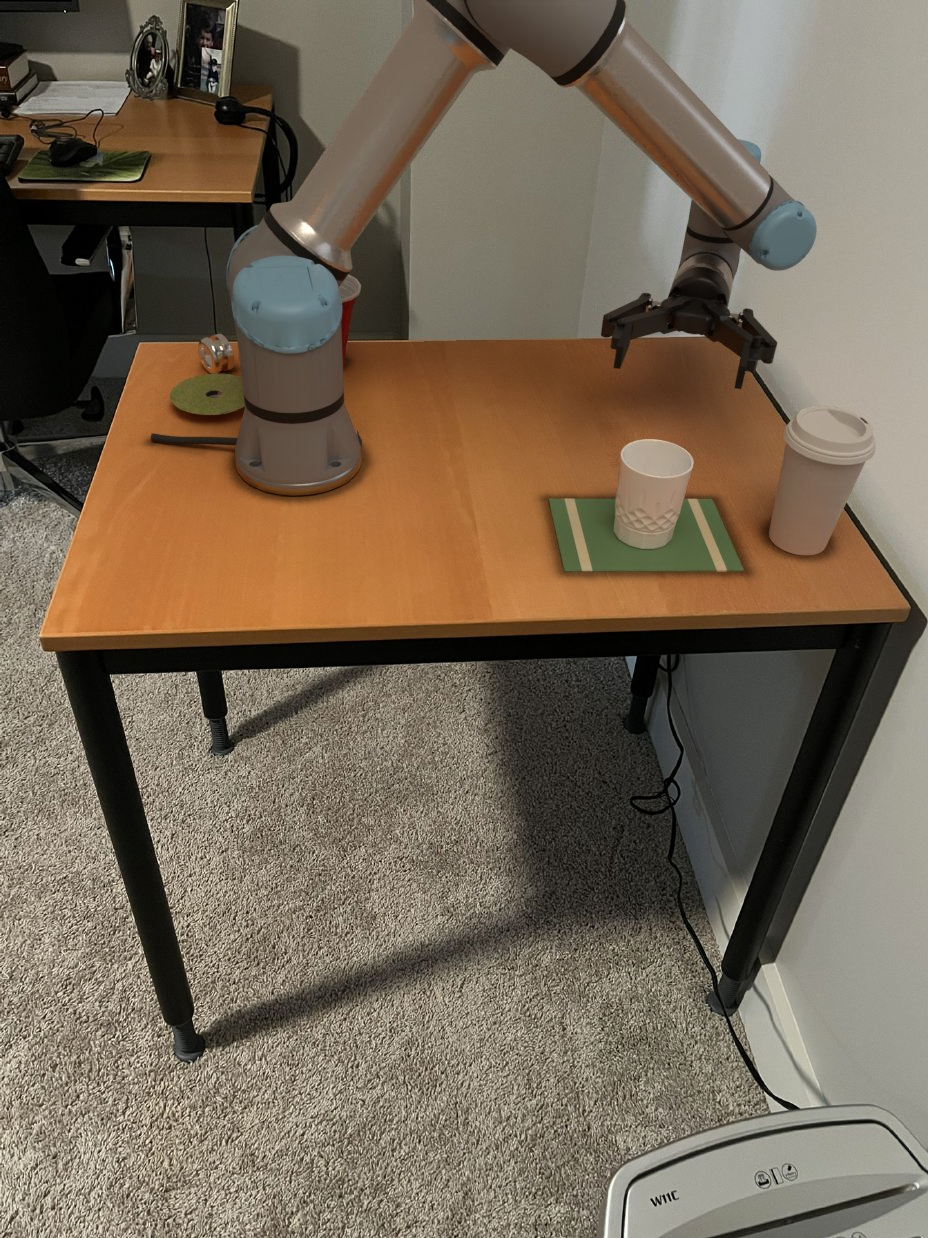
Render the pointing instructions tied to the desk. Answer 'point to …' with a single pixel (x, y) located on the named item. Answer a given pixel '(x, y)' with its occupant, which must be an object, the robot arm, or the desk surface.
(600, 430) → the desk surface
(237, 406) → the green sanding disc
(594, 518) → the cloth
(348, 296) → the plastic cup
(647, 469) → the white cup
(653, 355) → the desk surface
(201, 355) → the metal grooved wheel
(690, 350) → the desk surface
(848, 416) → the coffee cup
